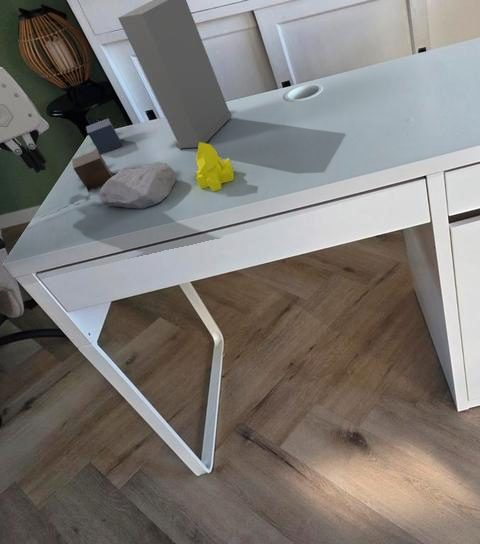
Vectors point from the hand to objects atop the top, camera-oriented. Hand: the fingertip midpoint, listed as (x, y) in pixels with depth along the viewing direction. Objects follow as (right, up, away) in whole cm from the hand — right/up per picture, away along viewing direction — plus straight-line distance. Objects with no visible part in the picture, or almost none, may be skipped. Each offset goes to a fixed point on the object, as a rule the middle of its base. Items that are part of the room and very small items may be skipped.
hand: (41, 168), depth 90 cm
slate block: (+3, +9, +19) cm, 21 cm away
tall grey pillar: (+26, +10, +14) cm, 31 cm away
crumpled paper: (+34, -3, -3) cm, 34 cm away
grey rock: (+20, -6, -2) cm, 21 cm away
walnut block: (+8, -1, +6) cm, 10 cm away
